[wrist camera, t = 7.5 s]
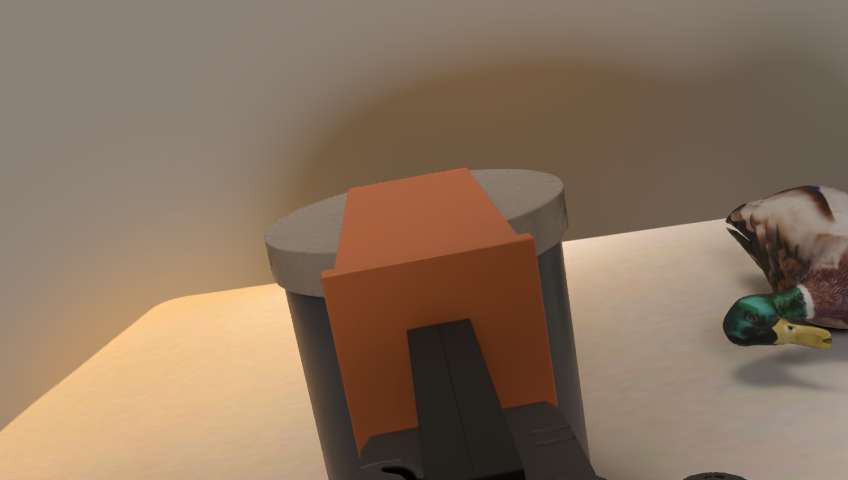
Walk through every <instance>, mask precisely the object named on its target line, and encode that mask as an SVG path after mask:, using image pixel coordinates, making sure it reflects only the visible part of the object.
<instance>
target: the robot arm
mask: <svg viewBox="0 0 848 480" xmlns="http://www.w3.org/2000/svg"><path fill="white" fill-rule="evenodd" d="M406 331H407V339H408V347H409V355H410V363H411V371H412V379H413V387H414V395H415V403H416V411H417V419H418V427H415V428H410V429H404V430H399V431H394V432H389V433H383V434H378V435H373V436H371V437H370V438H369V440H368V441H367V442H366V444H365V445H364V447H363V448H362V450H361V451H360V471H358V472H357V473H355V474H353V475H352V476H351V477H350V478H349V479H348V480H606V479H604V478H602V477H599V476H597V475H596V474H595V472H594V470H593V468H592V466H591V464H590V462H589V460H588V458H587V456H586V454H585V453H584V451H583V449H582V447H581V445H580V443H579V441H578V439H576V435H575V434H574V432H573V430H572V428H571V427H570V424H569V422H568V420H567V418H566V416H565V414H564V413H563V411H562V410H560V409H559V408H557V407H556V406H554V405H552V404H551V403H549V402H547V401H541V402H536V403H531V404H526V405H520V406H515V407H510V408H505V409H502V407H501V404H500V401H499V398H498V396H497V393H496V390H495V387H494V384H493V382H492V379H491V376H490V373H489V371H488V368H487V365H486V362H485V360H484V357H483V354H482V351H481V349H480V346H479V343H478V340H477V337H476V335H475V332H474V329H473V326H472V324H471V321H470V318H467V319H462V320H457V321H451V322H446V323H441V324H435V325H430V326H425V327H419V328H414V329H409V330H406ZM683 480H746V479H744V478H742V477H740V476H736V475H731V474H727V473H718V472H714V473H712V472H709V473H701V474H696V475H692V476H689V477H687V478H685V479H683Z"/></svg>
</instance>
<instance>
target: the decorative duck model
mask: <svg viewBox="0 0 848 480" xmlns="http://www.w3.org/2000/svg"><path fill="white" fill-rule="evenodd" d="M726 223H729V224H731V225H732V226H734V227H735V228H736V229H738V230H739V231H740V232H741V233H742V234H743V235H744V236H746V237H747V238H748V239H749V240H750V241H749V240H747V239H746V238H745V237H744V236H742V235H741V234H740V233H738V232H737V231H735V230H732V229H729V228H727V230H728V231H729V232H730V233H731V235H732V236H733V237H734V238H735V239H736V240H737V241H738V242H739V243H740V244H741V246H742V247H743V248H744V249H745V250H746V252H747V253H748V254H749V255H750V256H751V258H752V259H753V260H754V261H755V262H756V264H757V265H758V266H759V267H760V268H761V269H762V270H763V272H764V274H765V276H766V278H767V280H768V282H769V284H770V286H771V287H772V289H773V291H774V293H772V294H764V295H751V296H746V297H743V298H741V299H739V300H738V301H737V302H735V303H734V305H733V306H732V307H731V308H730V310H729V311H728V313H727V314H726V316H725V319H724V322H723V329H724V332H725V334H726V336H727V337H728V339H729V340H730V341H731V342H732V343H734V344H736V345H739V346H752V345H782V344H788V343H793V344H798V345H803V346H808V347H814V348H819V349H828V348H830V347H831V345H832V338H831V334H830V332H829V331H827V330H825V329H821V328H816V327H810V326H803V325H797V324H792V322H796V321H801V320H804V321H807V322H809V323H812V324H816V325H820V326H826V327H833V328H840V329H848V193H846V192H844V191H842V190H839V189H836V188H833V187H829V186H822V185H809V186H801V187H797V188H792V189H788V190H784V191H781V192H779V193H776V194H774V195H772V196H770V197H767V198H765V199H763V200H760V201H754V202H749V203H746V204H743V205H741V206H739V207H738V208H737V209H735V210H734V211H733V212H732V213H731V214H730V215H729V216H728V218H727V219H726Z"/></svg>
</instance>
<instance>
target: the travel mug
mask: <svg viewBox="0 0 848 480" xmlns="http://www.w3.org/2000/svg"><path fill="white" fill-rule="evenodd" d="M470 173H471V174H472V175H473V177H474V178H475V179H476V181H477V182H478V183H479V185H480V186H481V187H482V189H483V190H484V191H485V193H486V194H487V195H488V197H489V198H490V199H491V201H492V202H493V203H494V205H495V206H496V207H497V209H498V210H499V211H500V213H501V214H502V215H503V217H504V218H505V219H506V221H507V222H508V223H509V224H510V226H511V227H512V228H513V230H514V231H515V232H516V234H517V235H520V234H526V233H530V234H531V235H532V236H533V237H534V239H535V246H536V253H537V260H538V268H539V275H540V282H541V289H542V296H543V304H544V311H545V318H546V325H547V332H548V340H549V347H550V354H551V361H552V368H553V376H554V383H555V390H556V397H557V404H558V408H559V409H560V410H562V411H563V413H564V414H565V416H566V418H567V420H568V422H569V424H570V427H571V428H572V430H573V432H574V434H575V435H576V439H578V441H579V443H580V445H581V447H582V449H583V451H584V453H585V454H586V456H587V458H588V460H589V462H590V457H589V449H588V442H587V434H586V426H585V418H584V411H583V403H582V395H581V388H580V380H579V372H578V364H577V357H576V349H575V341H574V334H573V326H572V318H571V311H570V303H569V295H568V287H567V280H566V272H565V264H564V257H563V249H562V241H561V239H562V238H563V237H564V235H565V234H566V232H567V229H568V218H567V211H566V203H565V196H564V187H563V183H562V182H561V180H560V179H559V178H557V177H555V176H553V175H550V174H547V173H543V172H537V171H530V170H518V169H517V170H516V169H489V170H472V171H470ZM346 199H347V193H344V194H341V195H337V196H334V197H331V198H328V199H325V200H322V201H319V202H316V203H314V204H311V205H308V206H306V207H304V208H301V209H299V210H296V211H294V212H292V213H290V214H288V215H286V216H284V217H283V218H281V219H279V220H278V221H276V222H275V223H274V224H272V225H271V226H270V227H269V228H268V229H267V231H266V232H265V235H264V240H265V244H266V248H267V253H268V257H269V261H270V265H271V270H272V274H273V278H274V280H275V282H276V283H277V284H278V285H279V286H281V287H282V288H284V289H285V292H286V296H287V300H288V305H289V309H290V313H291V318H292V322H293V326H294V331H295V335H296V339H297V344H298V348H299V352H300V357H301V361H302V365H303V370H304V374H305V378H306V383H307V387H308V392H309V396H310V400H311V405H312V409H313V413H314V418H315V422H316V426H317V431H318V435H319V439H320V444H321V448H322V452H323V457H324V461H325V465H326V470H327V474H328V478H329V480H348V479H349V478H350V477H351V476H352V475H353V474H355V473H357V472H358V471H360V458H359V454H358V449H357V444H356V440H355V435H354V431H353V426H352V421H351V417H350V412H349V408H348V403H347V398H346V394H345V389H344V384H343V380H342V375H341V371H340V366H339V361H338V357H337V352H336V348H335V343H334V338H333V334H332V329H331V325H330V320H329V315H328V311H327V306H326V302H325V297H324V292H323V288H322V283H321V279H320V278H321V273H322V271H324V270H329V269H334V268H335V263H336V257H337V251H338V245H339V240H340V234H341V228H342V222H343V216H344V211H345V205H346Z"/></svg>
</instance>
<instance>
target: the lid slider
mask: <svg viewBox="0 0 848 480" xmlns="http://www.w3.org/2000/svg"><path fill="white" fill-rule="evenodd" d="M320 279H321V283H322V288H323V292H324V297H325V302H326V306H327V311H328V315H329V320H330V325H331V329H332V334H333V338H334V343H335V348H336V352H337V357H338V361H339V366H340V371H341V375H342V380H343V384H344V389H345V394H346V398H347V403H348V408H349V412H350V417H351V421H352V426H353V431H354V435H355V440H356V444H357V449H358V454H359V458H360V451H361V450H362V448H363V447H364V445H365V444H366V442H367V441H368V440H369V438H370V437H371V436H373V435H378V434H383V433H389V432H394V431H399V430H404V429H410V428H415V427H418V419H417V411H416V403H415V395H414V387H413V379H412V371H411V363H410V355H409V347H408V339H407V331H406V330H409V329H414V328H419V327H425V326H430V325H435V324H441V323H446V322H451V321H457V320H462V319H467V318H470V321H471V324H472V326H473V329H474V332H475V335H476V337H477V340H478V343H479V346H480V349H481V351H482V354H483V357H484V360H485V362H486V365H487V368H488V371H489V373H490V376H491V379H492V382H493V384H494V387H495V390H496V393H497V396H498V398H499V401H500V404H501V407H502V409H505V408H510V407H515V406H520V405H526V404H531V403H536V402H541V401H547V402H549V403H551V404H552V405H554V406H556V407H557V408H558V404H557V397H556V390H555V383H554V376H553V368H552V361H551V354H550V347H549V340H548V332H547V325H546V318H545V311H544V304H543V296H542V289H541V282H540V275H539V268H538V260H537V253H536V246H535V239H534V237H533V236H532V235H531V234H530V233H526V234H520V235H517V234H516V232H515V231H514V230H513V228H512V227H511V226H510V224H509V223H508V222H507V221H506V219H505V218H504V217H503V215H502V214H501V213H500V211H499V210H498V209H497V207H496V206H495V205H494V203H493V202H492V201H491V199H490V198H489V197H488V195H487V194H486V193H485V191H484V190H483V189H482V187H481V186H480V185H479V183H478V182H477V181H476V179H475V178H474V177H473V175H472V174H471V173H470V171H469V170H468V169H467V168H460V169H455V170H449V171H443V172H438V173H433V174H427V175H421V176H416V177H410V178H405V179H399V180H394V181H388V182H382V183H377V184H371V185H366V186H360V187H355V188H349V189H348V193H347V199H346V205H345V211H344V216H343V222H342V228H341V234H340V240H339V245H338V251H337V257H336V263H335V268H334V269H329V270H324V271H322V273H321V278H320Z"/></svg>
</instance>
